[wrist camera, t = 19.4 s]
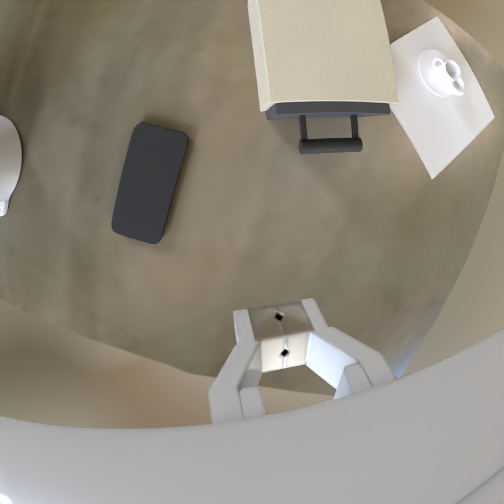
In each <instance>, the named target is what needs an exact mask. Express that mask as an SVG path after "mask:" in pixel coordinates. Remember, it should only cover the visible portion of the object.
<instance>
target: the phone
mask: <svg viewBox="0 0 504 504" xmlns="http://www.w3.org/2000/svg"><path fill="white" fill-rule="evenodd" d="M188 142H189V140H188V137H187V135H186V134H184V133H182V132H179V131H175V130H171V129H167V128H163V127H159V126H155V125H151V124H147V123H140V124H138V125H137V126H136V127H135V128H134V130H133V134H132V137H131V141H130V144H129V148H128V151H127V155H126V159H125V163H124V167H123V171H122V175H121V179H120V184H119V188H118V193H117V198H116V202H115V207H114V212H113V218H112V229H113V231H114V232H116V233H117V234H120V235H124V236H127V237H130V238H133V239H137V240H140V241H143V242H147V243H150V244H157V243H158V242H159V241H160V240H161V238H162V236H163V232H164V229H165V224H166V221H167V217H168V212H169V210H170V206H171V201H172V197H173V194H174V190H175V187H176V183H177V180H178V176H179V173H180V169H181V166H182V163H183V159H184V156H185V153H186V150H187V146H188Z"/></svg>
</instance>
